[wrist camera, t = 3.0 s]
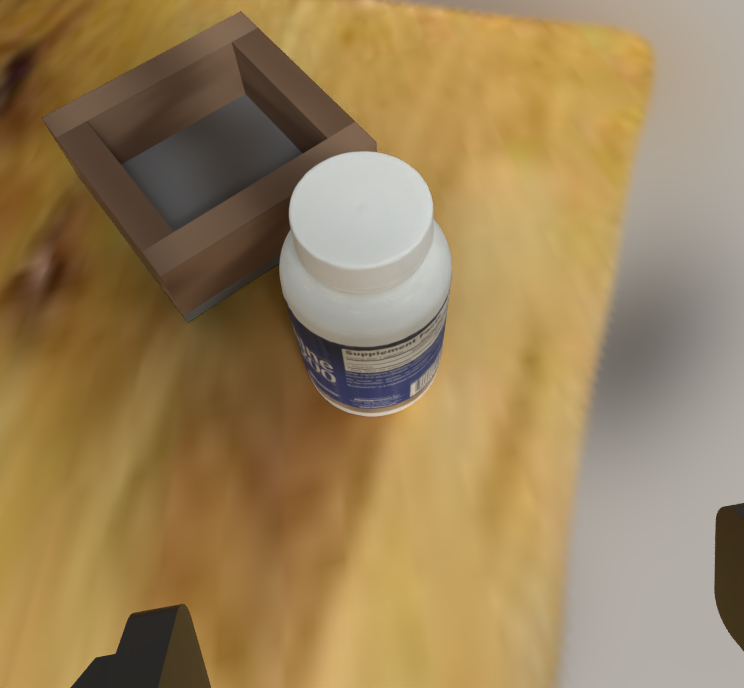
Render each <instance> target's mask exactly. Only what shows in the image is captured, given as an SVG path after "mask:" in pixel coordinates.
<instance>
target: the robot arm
mask: <svg viewBox="0 0 744 688" xmlns="http://www.w3.org/2000/svg"><path fill="white" fill-rule="evenodd" d="M714 589H715V599H716V604H717V608H718V611H719V614H720V616H721V619H722V621H723V623H724V625H725V627H726V629H727V630H728V632H729V633H730V635H731V636H732V637H733V639H734V640H735V641H736V642H737V643H738V645H739V646H740V647H741V648H742V650H743V651H744V503H741V504H736V505H731V506H725V507H722V508H720V510H719V511H718V513H717V516H716V535H715V588H714ZM71 688H211V686H210V682H209V678H208V675H207V671H206V668H205V664H204V661H203V657H202V654H201V650H200V647H199V643H198V640H197V636H196V633H195V629H194V626H193V622H192V619H191V615H190V612H189V610H188V608H187V607H186V605H184V604H180V605H175V606H169V607H164V608H158V609H153V610H147V611H142V612H136V613H132V614H131V615H130V617H129V618H128V620H127V623H126V626H125V629H124V632H123V634H122V637H121V640H120V643H119V646H118V649H117V652H116V654H113V655H107V656H102V657H97V658H95V659H94V660H93V662H92V663H91V664H90V665H89V666H88V668H87V669H86V670H85V671H84V672H83V674H82V675H81V676H80V677H79V678H78V679H77V681H76V682H75V683H74V684H73V685H72V687H71Z"/></svg>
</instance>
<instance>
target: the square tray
mask: <svg viewBox="0 0 744 688" xmlns="http://www.w3.org/2000/svg"><path fill="white" fill-rule="evenodd" d="M42 120H43V121H44V123H45V125H46V126H47V128H48V129H49V131H50V132H51V134H52V136H53V137H54V139H55V140H56V142H57V143H58V145H59V147H60V148H61V150H62V151H63V153H64V154H65V156H66V158H67V159H68V161H69V162H70V164H71V165H72V167H73V169H74V170H75V172H76V173H77V175H78V176H79V177H80V179H81V180H82V182H83V183H84V184H85V186H86V187H87V188H88V190H89V191H90V192H91V194H92V195H93V196H94V198H95V199H96V200H97V202H98V203H99V204H100V206H101V207H102V208H103V210H104V211H105V212H106V214H107V215H108V216H109V218H110V219H111V220H112V222H113V223H114V224H115V226H116V227H117V228H118V230H119V231H120V232H121V234H122V235H123V236H124V238H125V239H126V240H127V242H128V243H129V245H130V246H131V247H132V249H133V250H134V251H135V253H136V254H137V255H138V257H139V258H140V259H141V261H142V262H143V263H144V265H145V266H146V267H147V269H148V270H149V271H150V273H151V274H152V275H153V277H154V278H155V279H156V281H157V282H158V283H159V285H160V286H161V287H162V289H163V290H164V291H165V293H166V294H167V295H168V297H169V298H170V299H171V301H172V302H173V303H174V305H175V306H176V307H177V309H178V310H179V312H180V313H181V314H182V316H183V317H184V318H185V320H186V321H187V322H190V321H191V320H193V319H194V318H196V317H197V316H199V315H200V314H202V313H203V312H205V311H206V310H208V309H210V308H211V307H213V306H214V305H216V304H217V303H219V302H220V301H222V300H223V299H225V298H226V297H228V296H230V295H231V294H233V293H234V292H236V291H237V290H239V289H240V288H242V287H243V286H245V285H246V284H248V283H250V282H251V281H253V280H254V279H256V278H257V277H259V276H260V275H262V274H263V273H265V272H266V271H268V270H270V269H271V268H273V267H274V266H276V265H277V264H279V263H280V255H281V250H282V246H283V244H284V241H285V239H286V237H287V235H288V233H289V231H290V230H291V228H290V222H289V206H290V200H291V197H292V194H293V191H294V189H295V187H296V186H297V184H298V182H299V181H300V180H301V179H302V178H303V176H304V175H305V174H306V173H307V172H308V171H309V170H311V169H312V168H313V167H314V166H316V165H317V164H319V163H321V162H323V161H325V160H326V159H328V158H330V157H333V156H336V155H340V154H343V153H348V152H360V151H369V152H377V144H376V141H375V140H374V139H373V138H372V137H371V136H370V135H369V134H368V133H367V132H366V131H364V130H363V129H362V128H361V127H360V126H359V125H358V124H357V123H356V122H355V121H354V120H353V119H352V118H351V117H350V116H349V115H348V114H347V113H346V112H345V111H344V110H343V109H342V108H341V107H340V106H339V105H338V104H337V103H335V102H334V101H333V100H332V99H331V98H330V97H329V96H328V95H327V94H326V93H325V92H324V91H323V90H322V89H321V88H320V87H319V86H318V85H317V84H316V83H315V82H314V81H313V80H312V79H311V78H310V77H309V76H308V75H307V74H305V73H304V72H303V71H302V70H301V69H300V68H299V67H298V66H297V65H296V64H295V63H294V62H293V61H292V60H291V59H290V58H289V57H288V56H287V55H286V54H285V53H284V52H283V51H282V50H281V49H280V48H279V47H278V46H277V45H275V44H274V43H273V42H272V41H271V40H270V39H269V38H268V37H267V36H266V35H265V34H264V33H263V32H262V31H261V30H260V29H259V28H258V27H257V26H256V25H255V24H254V23H253V22H252V21H251V20H250V19H249V18H248V17H246V16H245V15H244V14H243V13H242V12H241V11H240V12H239V13H237V14H235V15H233V16H231V17H229V18H227V19H225V20H224V21H222V22H220V23H218V24H216V25H214V26H212V27H210V28H209V29H207V30H205V31H203V32H201V33H199V34H197V35H195V36H194V37H192V38H190V39H188V40H186V41H184V42H182V43H180V44H179V45H177V46H175V47H173V48H171V49H169V50H167V51H166V52H164V53H162V54H160V55H158V56H156V57H154V58H152V59H151V60H149V61H147V62H145V63H143V64H141V65H139V66H137V67H136V68H134V69H132V70H130V71H128V72H126V73H124V74H122V75H121V76H119V77H117V78H115V79H113V80H111V81H109V82H107V83H106V84H104V85H102V86H100V87H98V88H96V89H94V90H92V91H91V92H89V93H87V94H85V95H83V96H81V97H79V98H78V99H76V100H74V101H72V102H70V103H68V104H66V105H64V106H63V107H61V108H59V109H57V110H55V111H53V112H51V113H49V114H48V115H46V116H44V117H42Z"/></svg>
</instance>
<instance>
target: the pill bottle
mask: <svg viewBox="0 0 744 688" xmlns="http://www.w3.org/2000/svg"><path fill="white" fill-rule="evenodd" d="M289 222H290V228H291V230H290V231H289V233H288V235H287V237H286V239H285V241H284V244H283V246H282V250H281V255H280V264H279V273H280V281H281V287H282V292H283V296H284V299H285V302H286V305H287V308H288V312H289V314H290V318H291V321H292V325H293V328H294V331H295V335H296V338H297V342H298V345H299V348H300V351H301V354H302V357H303V360H304V363H305V365H306V368H307V371H308V374H309V376H310V378H311V380H312V382H313V384H314V386H315V388H316V389H317V390H318V391H319V393H320V394H321V395H322V396H323V397H324V398H325V399H326V400H327V401H328V402H329V403H331V404H332V405H334V406H335V407H337V408H339V409H341V410H343V411H346V412H348V413H352V414H356V415H361V416H384V415H388V414H392V413H395V412H398V411H401V410H403V409H405V408H407V407H409V406H410V405H412V404H413V403H415V402H416V401H417V400H418V399H419V398H421V397H422V396H423V395H424V394H425V392H426V391H427V390H428V388H429V387H430V386H431V384H432V383H433V381H434V379H435V376H436V374H437V371H438V368H439V363H440V359H441V354H442V348H443V338H444V331H445V323H446V315H447V308H448V300H449V292H450V284H451V279H452V263H451V255H450V250H449V246H448V243H447V240H446V238H445V235H444V234H443V232H442V230H441V228H440V226H439V225H438V224H437V222H436V221H435V220H434V219H433V202H432V196H431V194H430V191H429V188H428V186H427V184H426V182H425V181H424V179H423V178H422V177H421V175H420V174H419V173H418V172H417V171H416V170H415V169H413V168H412V167H411V166H410V165H408V164H406V163H405V162H403V161H402V160H400V159H398V158H395V157H393V156H390V155H387V154H383V153H378V152H369V151H360V152H348V153H343V154H340V155H336V156H333V157H330V158H328V159H326V160H325V161H323V162H321V163H319V164H317V165H316V166H314V167H313V168H312V169H311V170H309V171H308V172H307V173H306V174H305V175H304V176H303V178H302V179H301V180H300V181H299V182H298V184H297V186H296V187H295V189H294V191H293V194H292V197H291V200H290V206H289Z"/></svg>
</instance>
